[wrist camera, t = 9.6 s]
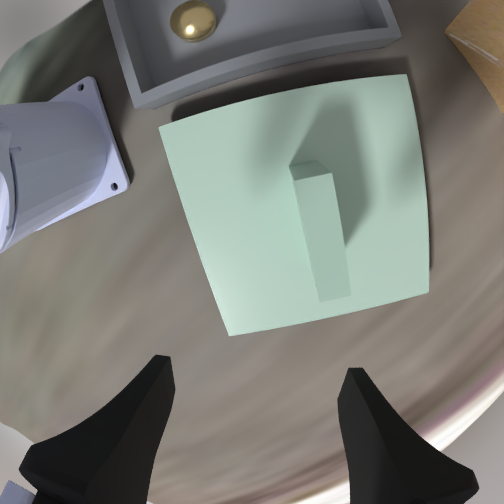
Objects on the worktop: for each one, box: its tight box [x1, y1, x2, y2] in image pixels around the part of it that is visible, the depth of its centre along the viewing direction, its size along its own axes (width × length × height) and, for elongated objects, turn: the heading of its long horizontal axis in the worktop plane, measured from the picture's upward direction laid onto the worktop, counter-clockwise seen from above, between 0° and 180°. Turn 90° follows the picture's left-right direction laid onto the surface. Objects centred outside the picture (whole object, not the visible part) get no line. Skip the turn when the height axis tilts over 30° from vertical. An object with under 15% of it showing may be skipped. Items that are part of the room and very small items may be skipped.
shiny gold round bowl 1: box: [170, 0, 217, 43], centre depth 14 cm, size 2×2×1 cm
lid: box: [159, 74, 429, 336], centre depth 16 cm, size 14×14×5 cm
